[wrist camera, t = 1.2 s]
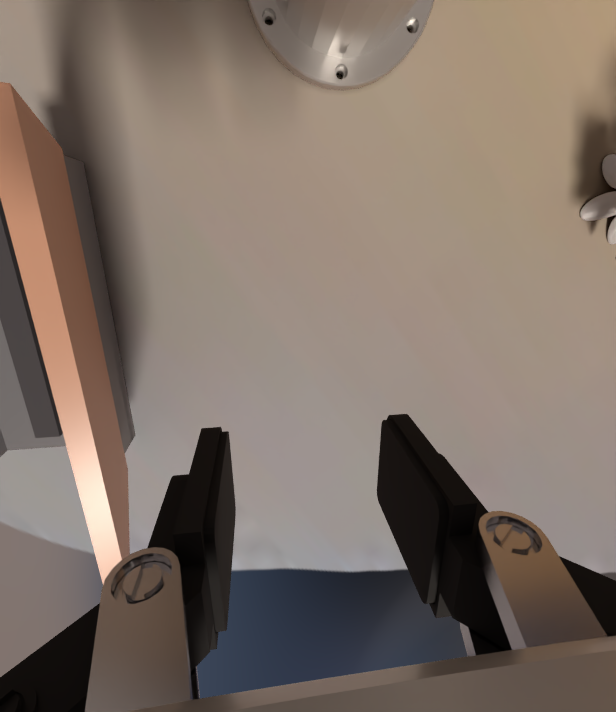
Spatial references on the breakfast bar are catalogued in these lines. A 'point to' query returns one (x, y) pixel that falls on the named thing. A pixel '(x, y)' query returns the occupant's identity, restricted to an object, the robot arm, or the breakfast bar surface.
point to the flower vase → (604, 200)
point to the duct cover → (64, 320)
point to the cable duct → (3, 393)
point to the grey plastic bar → (24, 341)
